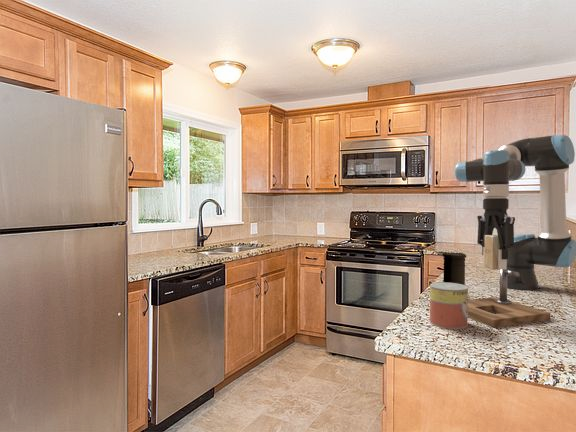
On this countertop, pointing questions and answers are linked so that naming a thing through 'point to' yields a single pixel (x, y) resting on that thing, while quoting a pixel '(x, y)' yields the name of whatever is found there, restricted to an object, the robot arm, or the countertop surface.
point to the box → (491, 252)
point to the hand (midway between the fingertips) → (494, 267)
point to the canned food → (449, 305)
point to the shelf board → (503, 313)
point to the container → (454, 268)
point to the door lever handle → (505, 285)
